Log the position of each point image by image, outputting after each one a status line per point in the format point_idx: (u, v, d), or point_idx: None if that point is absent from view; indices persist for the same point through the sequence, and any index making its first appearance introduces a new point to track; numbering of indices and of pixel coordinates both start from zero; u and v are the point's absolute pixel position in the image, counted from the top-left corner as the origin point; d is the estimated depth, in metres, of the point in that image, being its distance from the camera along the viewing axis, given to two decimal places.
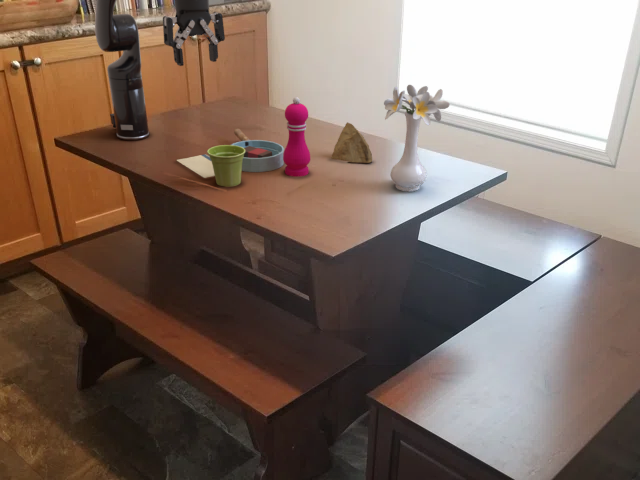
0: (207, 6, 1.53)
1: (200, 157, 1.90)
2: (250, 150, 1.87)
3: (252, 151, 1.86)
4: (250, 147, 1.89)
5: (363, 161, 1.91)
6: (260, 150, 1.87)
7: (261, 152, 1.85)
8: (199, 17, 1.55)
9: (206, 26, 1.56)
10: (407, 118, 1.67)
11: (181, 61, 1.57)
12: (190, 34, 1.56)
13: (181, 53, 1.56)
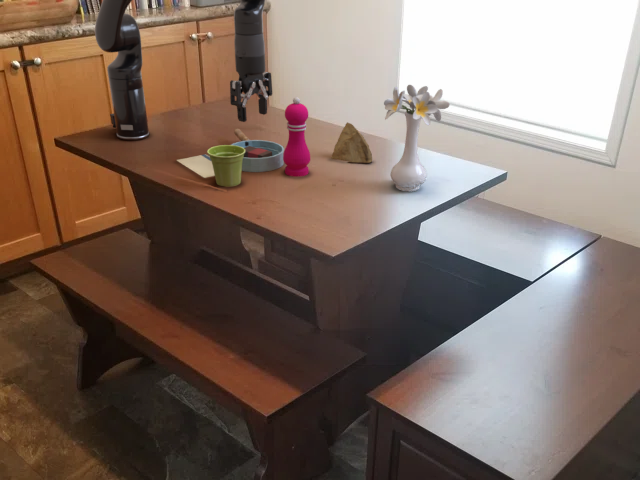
0: None
1: (200, 157, 1.90)
2: (250, 150, 1.87)
3: (252, 151, 1.86)
4: (250, 147, 1.89)
5: (363, 161, 1.91)
6: (260, 150, 1.87)
7: (261, 152, 1.85)
8: (257, 78, 1.76)
9: (262, 85, 1.78)
10: (407, 118, 1.67)
11: (245, 118, 1.77)
12: (251, 93, 1.76)
13: (245, 111, 1.76)
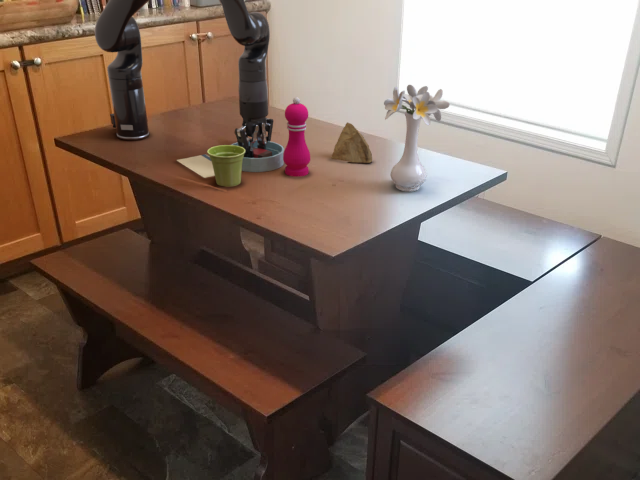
0: None
1: (200, 157, 1.90)
2: None
3: None
4: None
5: (363, 161, 1.91)
6: (260, 150, 1.87)
7: (261, 152, 1.85)
8: (260, 121, 1.83)
9: (264, 129, 1.84)
10: (407, 118, 1.67)
11: None
12: None
13: (253, 154, 1.85)
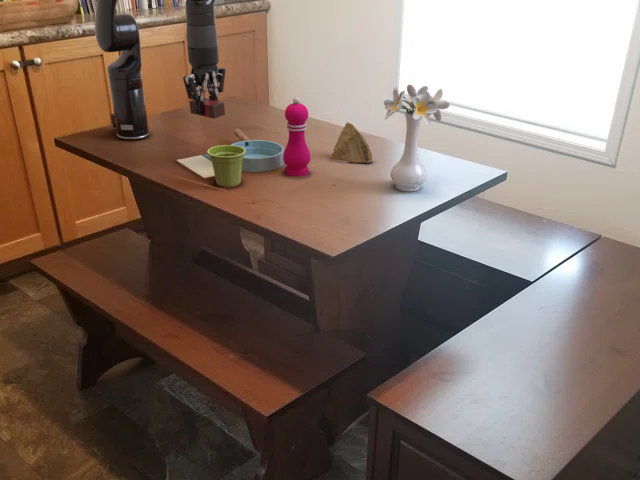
0: (218, 60, 1.73)
1: (200, 157, 1.90)
2: None
3: None
4: None
5: (363, 161, 1.91)
6: (212, 101, 1.79)
7: (212, 103, 1.77)
8: (210, 70, 1.74)
9: (215, 78, 1.76)
10: (407, 118, 1.67)
11: (203, 111, 1.77)
12: None
13: (203, 105, 1.76)
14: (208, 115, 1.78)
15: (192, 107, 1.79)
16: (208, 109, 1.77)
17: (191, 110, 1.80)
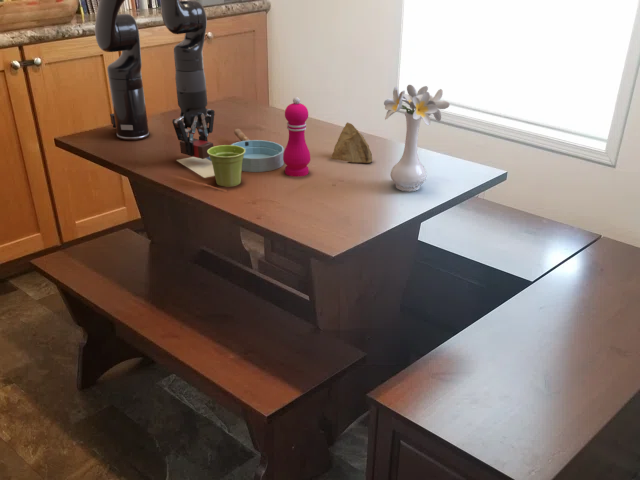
0: None
1: None
2: None
3: None
4: None
5: (363, 161, 1.91)
6: (201, 141, 1.84)
7: (201, 144, 1.82)
8: (199, 112, 1.79)
9: (204, 120, 1.81)
10: (407, 118, 1.67)
11: (193, 152, 1.82)
12: None
13: (192, 145, 1.81)
14: (197, 156, 1.82)
15: (182, 147, 1.84)
16: (197, 150, 1.82)
17: (182, 151, 1.85)
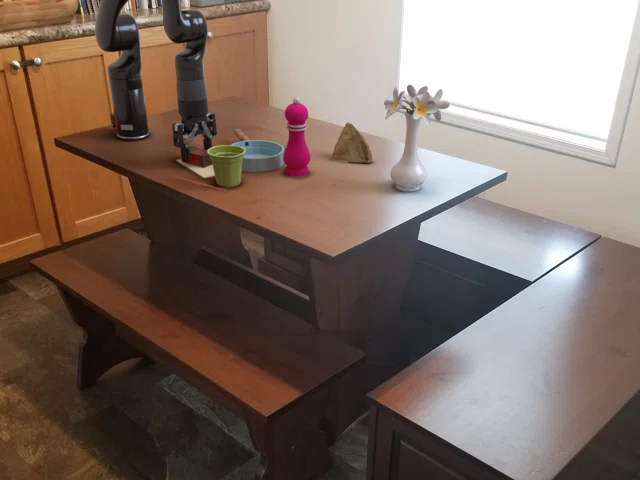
0: (207, 111, 1.79)
1: None
2: (192, 150, 1.85)
3: (193, 151, 1.84)
4: (192, 147, 1.87)
5: (363, 161, 1.91)
6: (202, 150, 1.85)
7: (202, 153, 1.84)
8: (200, 120, 1.81)
9: (205, 126, 1.82)
10: (407, 118, 1.67)
11: (188, 158, 1.82)
12: (194, 135, 1.81)
13: (188, 152, 1.81)
14: (198, 165, 1.84)
15: None
16: (198, 159, 1.83)
17: None
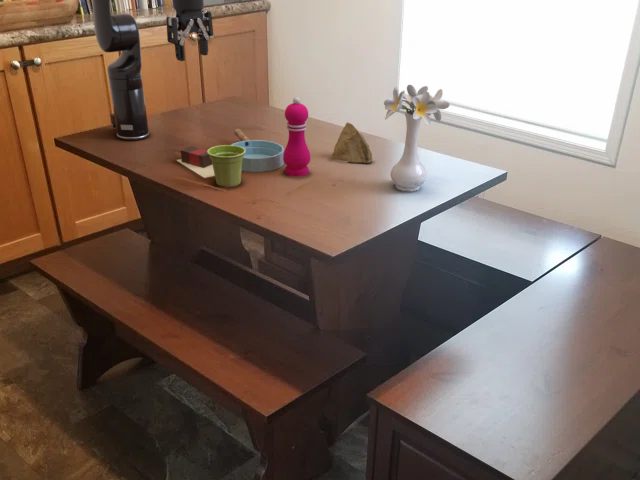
0: (203, 5, 1.71)
1: None
2: (192, 150, 1.85)
3: (193, 151, 1.84)
4: (192, 147, 1.87)
5: (363, 161, 1.91)
6: (202, 150, 1.85)
7: (202, 153, 1.84)
8: (195, 16, 1.73)
9: (201, 23, 1.74)
10: (407, 118, 1.67)
11: (183, 56, 1.74)
12: (189, 31, 1.73)
13: (183, 49, 1.73)
14: (198, 165, 1.84)
15: (183, 156, 1.85)
16: (198, 159, 1.83)
17: (183, 159, 1.86)
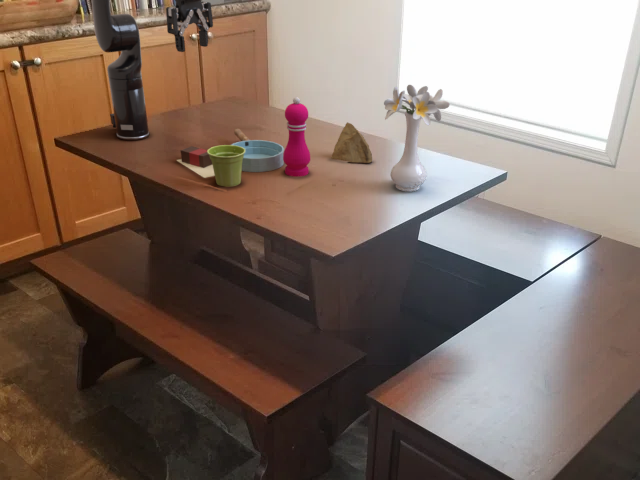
0: None
1: None
2: (192, 150, 1.85)
3: (193, 151, 1.84)
4: (192, 147, 1.87)
5: (363, 161, 1.91)
6: (202, 150, 1.85)
7: (202, 153, 1.84)
8: (195, 7, 1.73)
9: (201, 14, 1.74)
10: (407, 118, 1.67)
11: (183, 47, 1.74)
12: (189, 22, 1.73)
13: (183, 40, 1.73)
14: (198, 165, 1.84)
15: (183, 156, 1.85)
16: (198, 159, 1.83)
17: (183, 159, 1.86)
